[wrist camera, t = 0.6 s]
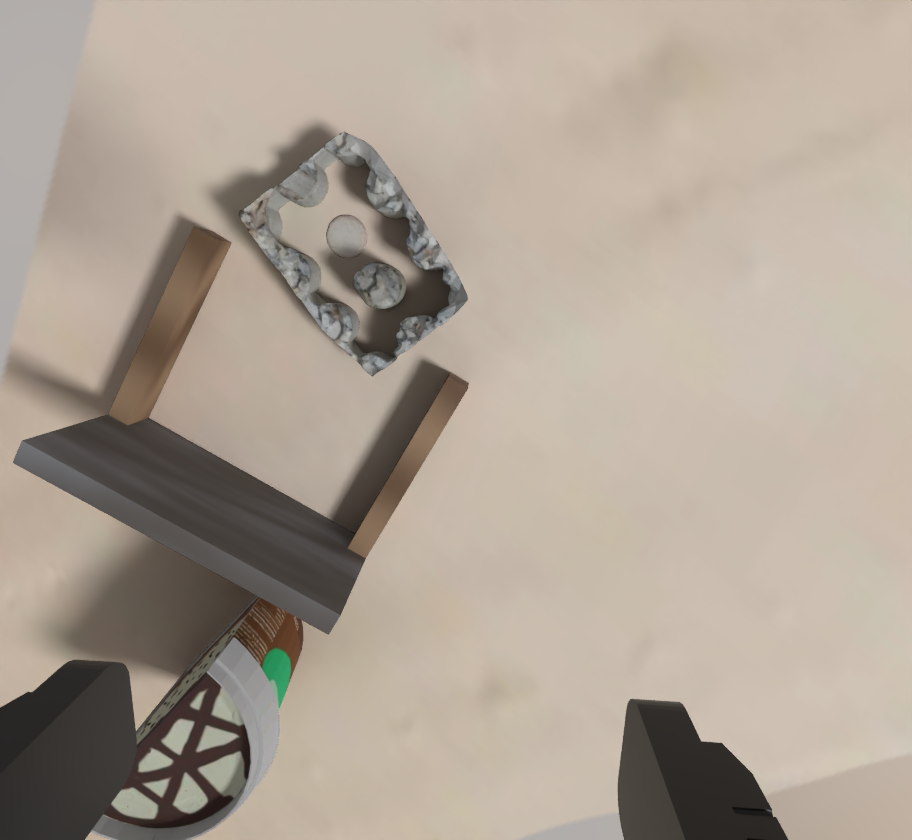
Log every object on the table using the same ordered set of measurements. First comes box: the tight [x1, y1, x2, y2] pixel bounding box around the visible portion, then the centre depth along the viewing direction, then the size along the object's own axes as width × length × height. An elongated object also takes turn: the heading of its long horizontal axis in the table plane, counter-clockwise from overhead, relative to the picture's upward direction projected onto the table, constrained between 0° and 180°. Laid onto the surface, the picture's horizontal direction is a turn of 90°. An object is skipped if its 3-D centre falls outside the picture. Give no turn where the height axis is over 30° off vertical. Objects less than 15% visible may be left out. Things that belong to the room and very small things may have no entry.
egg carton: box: [239, 132, 468, 376], centre depth 29 cm, size 11×8×4 cm
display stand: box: [13, 227, 469, 635], centre depth 29 cm, size 13×16×8 cm
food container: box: [91, 596, 303, 840], centre depth 31 cm, size 12×6×10 cm, turn 137°
